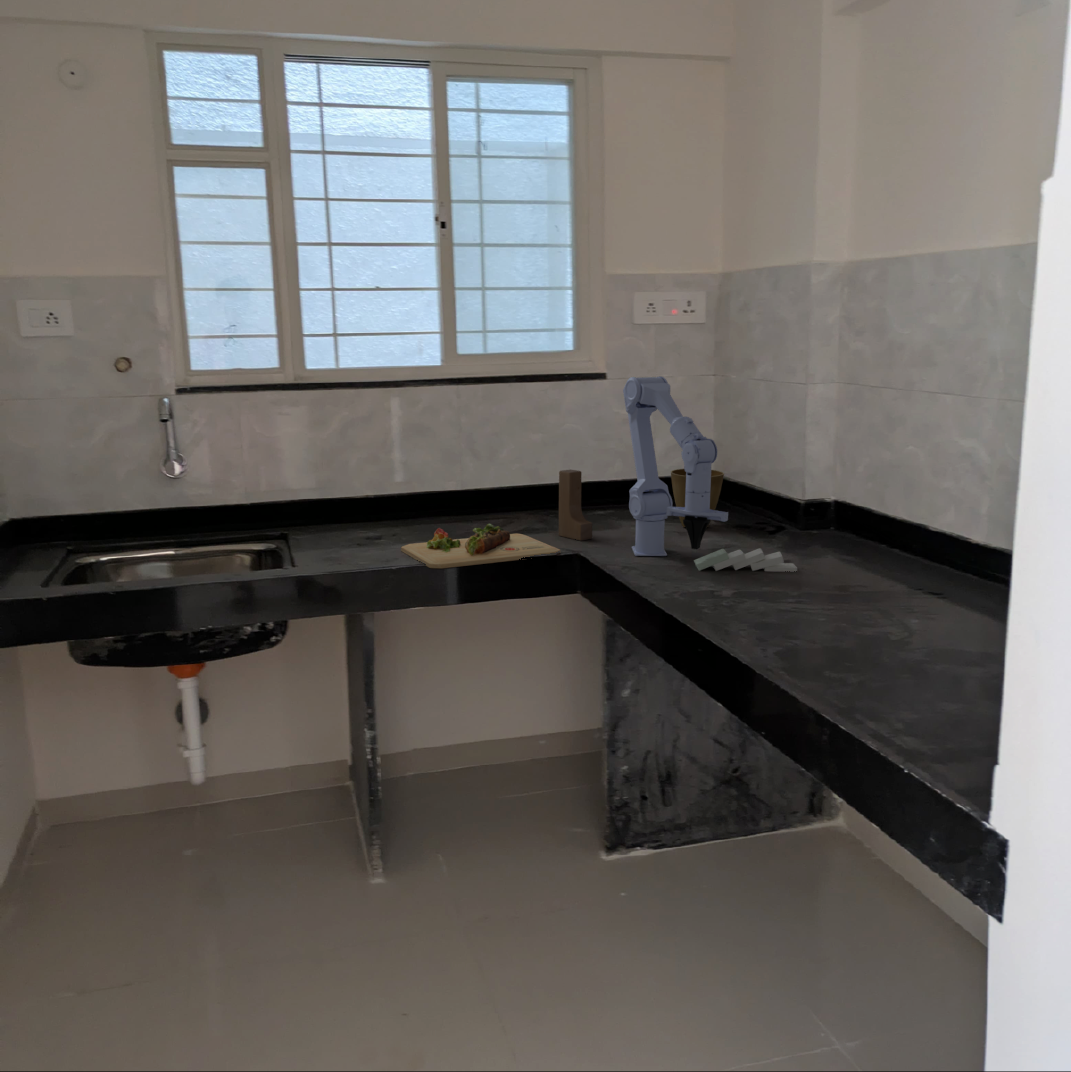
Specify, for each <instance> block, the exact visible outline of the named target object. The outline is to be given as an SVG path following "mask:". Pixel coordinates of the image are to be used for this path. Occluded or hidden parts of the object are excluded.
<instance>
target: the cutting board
mask: <svg viewBox="0 0 1071 1072" xmlns="http://www.w3.org/2000/svg"><path fill="white" fill-rule="evenodd" d="M472 532H473V533H474V535H471V536H470V537H468V538H467V537H466V538H456V539H455V538H454V539H453V538H451V537H449V533H448V532H446V531H444V529H442V528H441V527H438V528H437V529H436V530H435V531H434V533H433V535H434V536H433V538H432V539H429V540H428V541H427V542H415V543H408V544H405V545H403V546H401V547H400V551H401V552H402V553H404V554H406V555H407V556H410V558H412V559H414V560H416V561H417V560H418V561H417V562H419V561H421V562H423V563H425V564H426V565H425V566H426V567H427V568H430V569H448V568H450V569H451V568H457V567H466V566H467V567H468V566H476V565H483V564H494V563H502V562H503V563H504V562H512V561H519V559H520V560H521V558H523V557H524V558H525V557H530V556H534V555H541V554H550V553H556V552H558V551H560V552H561V549H560V548H557V547H555V546H554V545H549V544H547V543H545V542H542V541H540V540H538V539H536V538H534V537H531V536H528V535H526V534H522V533H510V531H508V530H505V529H503V528H502V527H500V526H499V525H498V526H494V525H493V524H492V523H487V524H486V525H485V527H484V528H483V529H482V528H481V527H474V528H473V529H472ZM521 561H522V560H521ZM421 562H420V563H421Z"/></svg>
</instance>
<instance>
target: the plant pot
mask: <svg viewBox="0 0 1071 1072" xmlns="http://www.w3.org/2000/svg"><path fill="white" fill-rule="evenodd" d="M724 475H725V473H724V472H723V471H720V470H716V469H711V487H710V509H711V510H716V508H717V506H718V505H717V504H718V502H719V498H720V496H721V491H722V485H723V481H724V477H725V476H724ZM670 479H671V485H672V492H673V497H674V498H673V499H674V502H675V507H685V493H686V472H685V469H684V468H678V469H673V470H671V471H670ZM678 518H679V521H680V523H681V527H682V526H683V527H682V528H684V527H685V525H684V524H683V520H684V519H685V517H682V516H678ZM711 521H712V520H710V523H709V525H708V526H707V527H708V528H709V526H710V524H711Z"/></svg>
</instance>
